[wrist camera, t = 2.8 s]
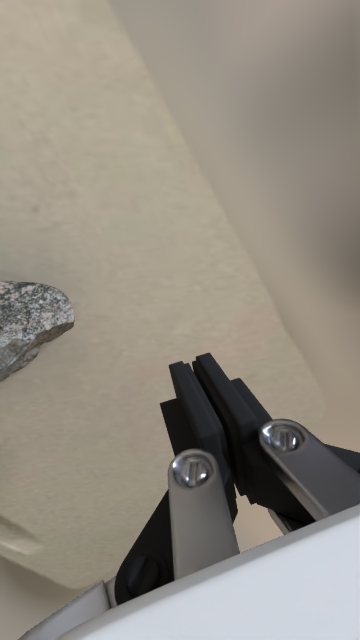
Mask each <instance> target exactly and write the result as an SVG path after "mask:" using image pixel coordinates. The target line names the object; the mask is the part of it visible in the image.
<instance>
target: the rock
mask: <svg viewBox="0 0 360 640" xmlns="http://www.w3.org/2000/svg"><path fill="white" fill-rule="evenodd" d="M74 321H75V316H74V314H73V308H72V305H71V303H70V301H69V299H68V298H67V296H66V295H65V294H64V293H63V292H61V291H60V290H58V289H56V288H54V287H51V286H48V285H44V284H38V283H30V282H21V283H20V282H13V281H11V282H2V281H0V381H3V380H4V379H6V378H7V377H8V376H9V375H10V374H11V373H13V372H16V371H18V370H20V369H22V368H23V367H25V366H26V365H28V364H29V363H30V362H31V361H32V360H34V359H35V358H36V357H37V355H38V353H39V348H40V346H41V345H42V344H43V343H45V342H49V341H52V340H53V339H55V338H57V337H59V336H60V335H62V334H63V333H64V332H66V331H68V330H69V329H71V328H72V327H73V326H74Z"/></svg>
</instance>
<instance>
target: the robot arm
mask: <svg viewBox="0 0 360 640" xmlns="http://www.w3.org/2000/svg"><path fill="white" fill-rule="evenodd" d="M192 365H193V370H194V372H193V370H192V369H191V367H190V365H189V363H186V364H184V363H183V362H182V361H180V362H177V363H174V364H170V365H169V369H170V373H171V377H172V381H173V385H174V389H175V393H176V397H177V398H175V399H172V400H169V401H166V402H163V403H160V406H161V410H162V413H163V417H164V420H165V424H166V427H167V431H168V434H169V438H170V441H171V445H172V448H173V452H174V455H175V458H174V459H173V460H172V461H171V463H170V466H169V468H168V488H169V489H168V490H167V492H166V493H165V495H164V497H163V498H162V500H161V501H160V503H159V505H158V506H157V508H156V510H155V511H154V513H153V514H152V516H151V518H150V519H149V521H148V522H147V524H146V526H145V527H144V529H143V530H142V532H141V534H140V535H139V537H138V538H137V540H136V542H135V543H134V545H133V546H132V548H131V550H130V551H129V553H128V555H127V556H126V558H125V559H124V561H123V563H122V564H121V566H120V569H119V571H118V573H117V575H116V576H115V577H114V578H112V579H111V580H109V581H108V582H106V583H104V581H103V580H102V581H100V582H99V583H97V584H96V585H94V586H93V587H91V588H90V589H88V590H87V591H85V592H84V593H83V594H81V595H80V596H78V597H77V598H76V599H74V600H72V601H71V602H70V603H68V604H66V605H65V606H64V607H62V608H61V609H59V610H58V611H56V612H55V613H53V614H52V615H51V616H49V617H48V618H46V619H45V620H43V621H42V622H40V623H39V624H38V625H36V626H34V627H33V628H31V629H30V630H29V631H27V632H26V633H25V634H24V635H23V636H22V637H20V638H19V639H18V640H360V453H358V452H354V451H351V450H346V449H343V448H339V447H335V446H330V445H327V444H324V443H322V442H321V441H320V440H319V439H318V438H316V437H315V436H314V435H313V434H312V433H311V432H309V431H308V430H307V429H306V428H305V427H304V426H302V425H301V424H299V423H297V422H295V421H292V420H289V419H274V420H273V419H272V418H271V417H270V415H269V414H268V413H267V411H266V410H265V409H264V408H263V406H262V405H261V404H260V403H259V401H258V400H257V399H256V397H255V396H254V395H253V394H252V392H251V391H250V390H249V389H248V387H247V386H246V385H245V383H244V382H243V381H242V380H241V379H240V378H237V379H234V380H231V381H230V380H229V379H228V377H227V376H226V375H225V373H224V372H223V370H222V369H221V368H220V366H219V365H218V363H217V362H216V361H215V359H214V358H213V356H212V355H211V354H210V353H206V354H203V355H200V356H196V361H193V362H192ZM234 484H235V485H236V488H237V490H238V492H239V494H240V496H243V495H246V496H247V498H248V500H249V502H250V504H251V505H252V504H254V503H257V504H258V505H261V506H263V507H266V508H268V512H269V514H270V516H271V518H272V519H273V520H274V522H275V523H276V525H277V526H278V527H279V529H280V530H281V531H282V533H283V534H284V535H283V536H281V537H278V538H276V539H273V540H271V541H269V542H266V543H264V544H261V545H259V546H257V547H254V548H252V549H249V550H247V551H245V552H242V553H240V551H239V547H238V543H237V539H236V535H235V531H234V527H233V522H234V520H235V518H236V515H237V513H238V509H237V504H236V492H235V487H234Z"/></svg>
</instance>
